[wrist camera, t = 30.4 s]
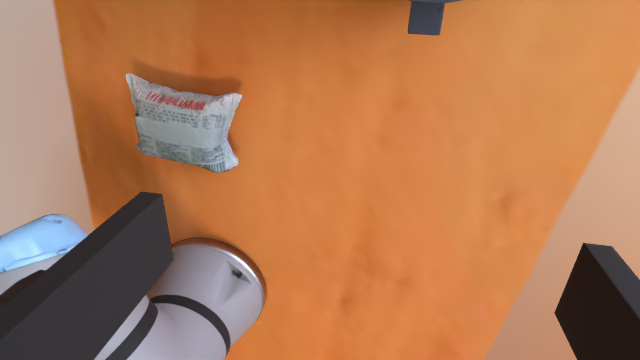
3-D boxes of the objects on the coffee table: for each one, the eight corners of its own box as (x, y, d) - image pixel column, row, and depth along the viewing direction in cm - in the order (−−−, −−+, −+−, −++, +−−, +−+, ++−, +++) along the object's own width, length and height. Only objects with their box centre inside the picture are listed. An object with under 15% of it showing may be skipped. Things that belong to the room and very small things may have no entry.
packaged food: (141, 68, 42) (112, 79, 38) (248, 89, 41) (231, 103, 37) (146, 142, 46) (121, 159, 42) (243, 163, 45) (227, 183, 41)
